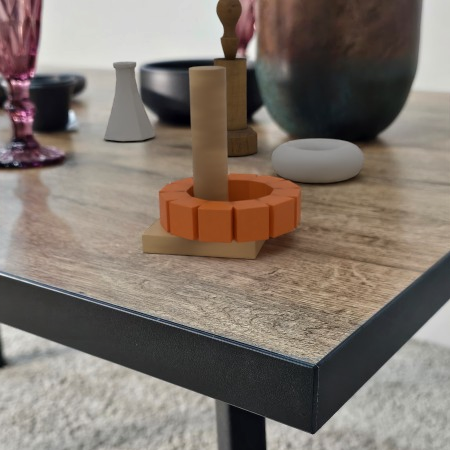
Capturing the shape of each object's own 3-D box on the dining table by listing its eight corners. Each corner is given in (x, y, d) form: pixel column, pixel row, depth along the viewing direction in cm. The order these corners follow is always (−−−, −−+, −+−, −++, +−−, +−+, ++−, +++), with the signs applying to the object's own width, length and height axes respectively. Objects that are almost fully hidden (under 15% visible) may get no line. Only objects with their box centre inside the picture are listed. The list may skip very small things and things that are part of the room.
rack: (142, 252, 58) (130, 74, 53) (175, 219, 66) (168, 61, 61) (255, 259, 56) (254, 74, 51) (274, 224, 64) (276, 62, 59)
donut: (262, 169, 84) (282, 188, 75) (262, 138, 83) (282, 155, 74) (347, 164, 86) (376, 183, 77) (348, 134, 84) (378, 149, 75)
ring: (143, 238, 57) (141, 205, 56) (182, 200, 67) (181, 171, 66) (289, 246, 54) (289, 212, 53) (307, 205, 64) (307, 175, 63)
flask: (162, 133, 105) (158, 59, 101) (146, 143, 99) (141, 65, 95) (114, 132, 107) (109, 59, 103) (95, 142, 100) (88, 65, 96)
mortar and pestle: (266, 148, 94) (266, -5, 87) (243, 158, 89) (242, -4, 82) (220, 144, 97) (216, -4, 90) (195, 154, 92) (190, -3, 85)
